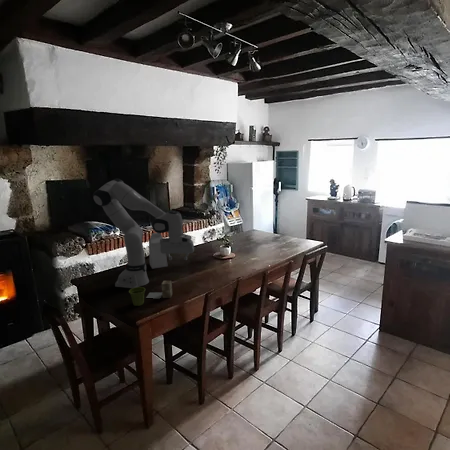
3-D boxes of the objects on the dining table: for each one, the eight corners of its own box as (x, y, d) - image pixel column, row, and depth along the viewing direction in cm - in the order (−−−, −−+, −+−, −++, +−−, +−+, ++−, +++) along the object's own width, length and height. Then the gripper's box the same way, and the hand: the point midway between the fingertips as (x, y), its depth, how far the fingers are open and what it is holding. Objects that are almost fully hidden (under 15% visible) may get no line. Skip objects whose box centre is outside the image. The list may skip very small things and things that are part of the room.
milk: (152, 268, 249) (149, 235, 243) (149, 264, 260) (146, 232, 254) (167, 266, 254) (165, 233, 248) (164, 261, 264) (162, 230, 258)
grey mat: (145, 298, 200) (145, 298, 200) (149, 292, 208) (149, 292, 208) (160, 298, 199) (160, 298, 199) (163, 292, 207) (163, 292, 207)
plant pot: (136, 309, 187) (134, 295, 185) (127, 304, 193) (125, 290, 191) (149, 303, 194) (148, 289, 192) (140, 298, 200) (139, 285, 198)
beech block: (162, 297, 201) (161, 284, 199) (164, 294, 206) (163, 280, 203) (170, 297, 200) (169, 284, 198) (172, 294, 205) (171, 280, 203)
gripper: (157, 239, 193) (160, 261, 196) (191, 239, 190) (193, 261, 194) (161, 236, 199) (163, 258, 202) (193, 236, 196) (195, 257, 200)
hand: (178, 259), depth 198 cm, fingers open, 8 cm apart
